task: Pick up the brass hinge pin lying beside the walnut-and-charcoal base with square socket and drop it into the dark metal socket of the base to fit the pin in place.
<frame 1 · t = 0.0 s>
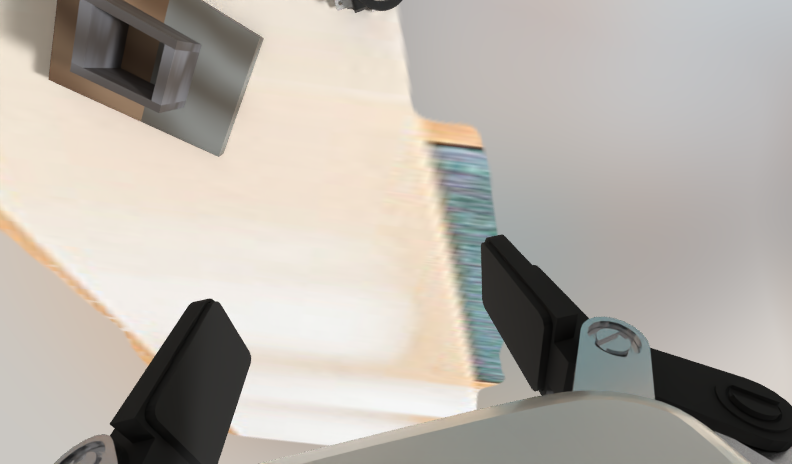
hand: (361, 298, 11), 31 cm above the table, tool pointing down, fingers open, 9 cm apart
base with square socket: (163, 58, 32), on the table
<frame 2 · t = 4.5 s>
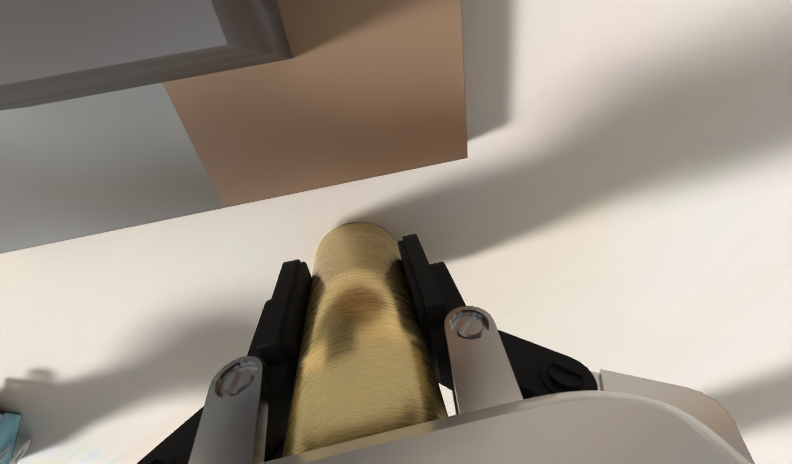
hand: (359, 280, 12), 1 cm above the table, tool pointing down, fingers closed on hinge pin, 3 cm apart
hinge pin: (358, 259, 13), on the table, touching gripper
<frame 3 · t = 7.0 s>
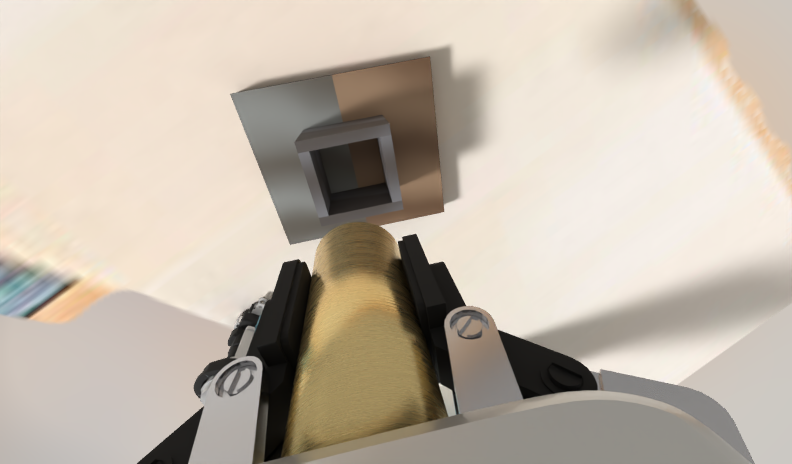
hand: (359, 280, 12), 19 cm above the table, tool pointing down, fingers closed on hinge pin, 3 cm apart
base with square socket: (351, 157, 28), on the table
push button: (255, 313, 36), on the table
hinge pin: (358, 259, 13), point 18 cm above the table, touching gripper
when the fingers open (8 cm above the table, at t = 9.6 s): hinge pin drops 5 cm, resting on base with square socket.
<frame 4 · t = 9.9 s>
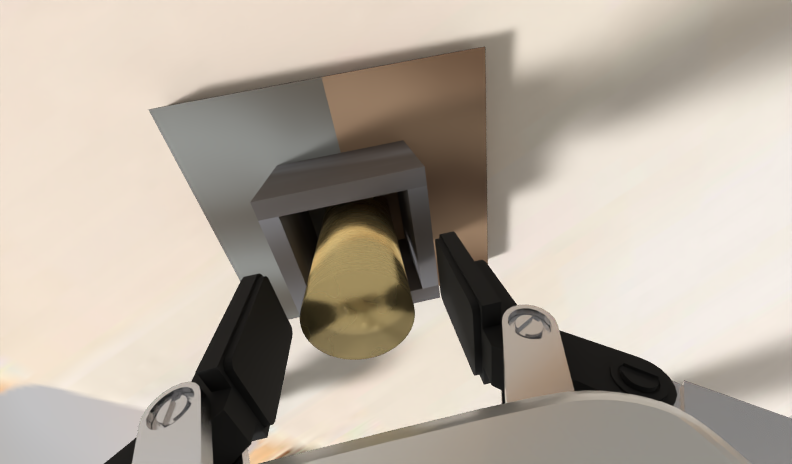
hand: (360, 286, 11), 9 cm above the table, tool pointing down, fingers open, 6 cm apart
base with square socket: (354, 200, 19), on the table
hinge pin: (358, 210, 17), point 2 cm above the table, touching base with square socket
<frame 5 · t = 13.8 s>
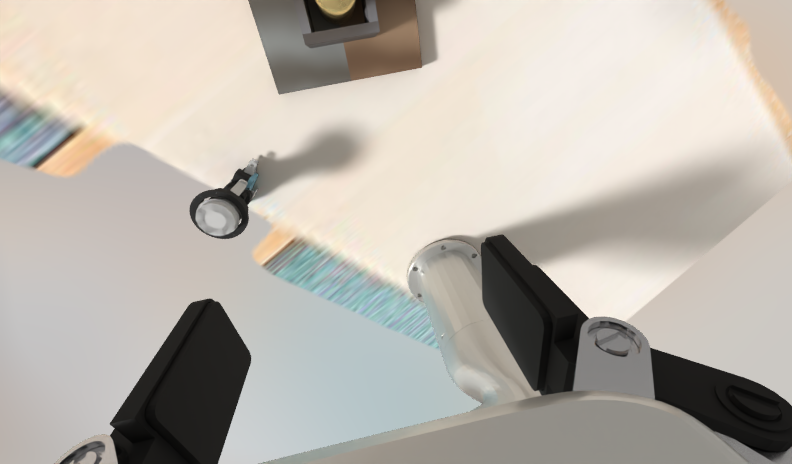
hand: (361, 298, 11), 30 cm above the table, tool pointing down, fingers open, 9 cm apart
base with square socket: (335, 5, 31), on the table
push button: (247, 181, 38), on the table
hinge pin: (336, 2, 29), point 1 cm above the table, touching base with square socket
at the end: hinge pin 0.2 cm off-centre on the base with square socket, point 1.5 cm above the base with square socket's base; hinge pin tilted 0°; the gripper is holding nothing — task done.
